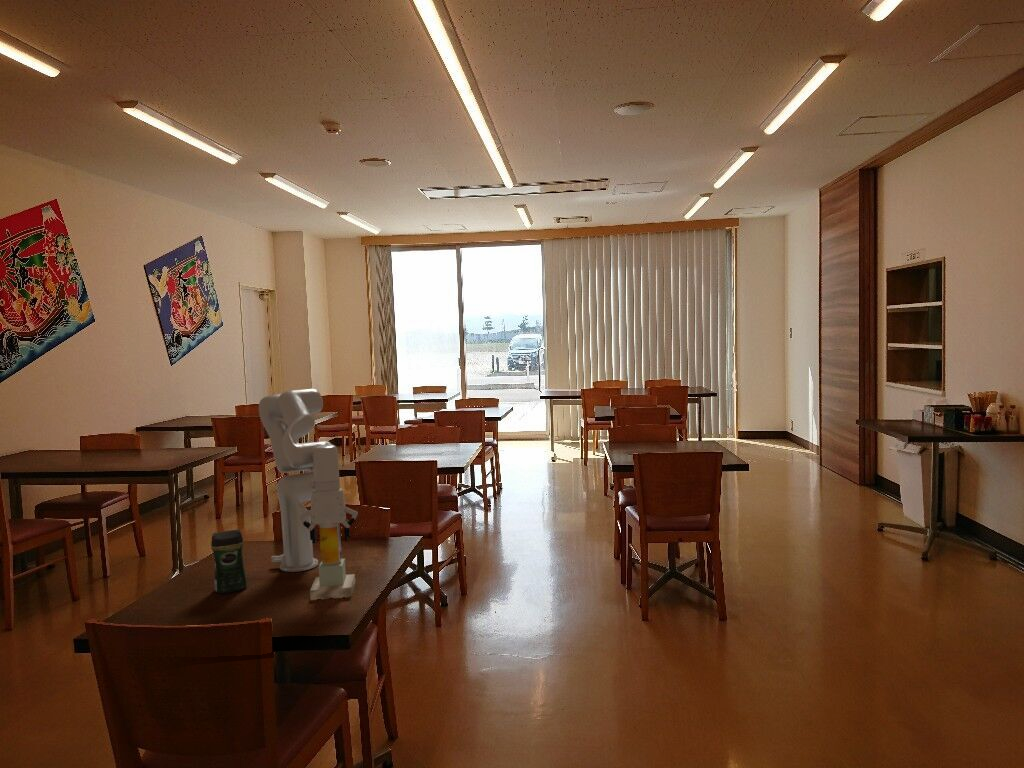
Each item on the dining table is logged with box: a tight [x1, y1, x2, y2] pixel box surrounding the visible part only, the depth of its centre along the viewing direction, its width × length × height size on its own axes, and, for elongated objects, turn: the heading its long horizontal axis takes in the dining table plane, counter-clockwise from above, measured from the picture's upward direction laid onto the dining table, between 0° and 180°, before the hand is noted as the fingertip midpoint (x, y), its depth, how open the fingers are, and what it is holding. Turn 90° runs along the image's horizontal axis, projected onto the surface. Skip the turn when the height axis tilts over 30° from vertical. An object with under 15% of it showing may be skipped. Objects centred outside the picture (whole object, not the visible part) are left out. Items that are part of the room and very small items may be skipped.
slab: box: [309, 573, 356, 601], centre depth 226 cm, size 12×12×3 cm
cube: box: [318, 558, 347, 587], centre depth 226 cm, size 7×7×6 cm
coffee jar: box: [210, 529, 248, 594], centre depth 232 cm, size 10×8×19 cm
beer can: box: [318, 520, 343, 565], centre depth 225 cm, size 6×6×15 cm
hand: (330, 541), depth 225 cm, fingers open, 9 cm apart
